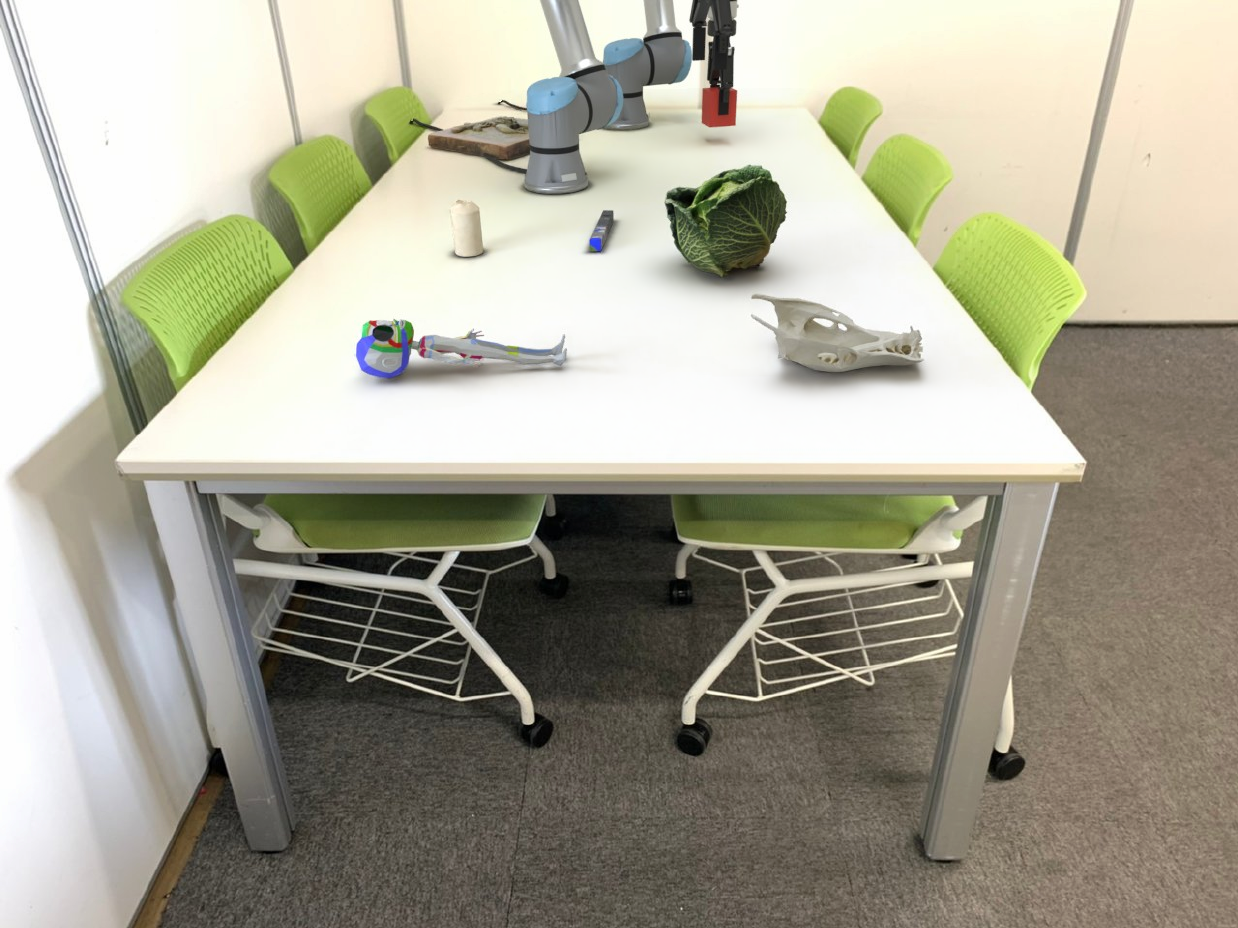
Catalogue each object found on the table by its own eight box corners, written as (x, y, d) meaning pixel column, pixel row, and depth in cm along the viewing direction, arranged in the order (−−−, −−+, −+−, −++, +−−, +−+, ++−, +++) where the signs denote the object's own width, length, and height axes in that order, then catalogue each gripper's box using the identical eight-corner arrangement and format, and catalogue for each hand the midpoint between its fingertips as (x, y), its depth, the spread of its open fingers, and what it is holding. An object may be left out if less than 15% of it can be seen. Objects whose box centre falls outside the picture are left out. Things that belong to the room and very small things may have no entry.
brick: (709, 127, 244) (710, 92, 239) (701, 123, 249) (702, 88, 245) (735, 125, 246) (737, 90, 241) (727, 121, 251) (728, 86, 246)
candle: (488, 249, 176) (483, 198, 171) (475, 258, 172) (470, 206, 167) (463, 246, 178) (457, 196, 173) (450, 255, 174) (443, 204, 168)
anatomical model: (752, 284, 135) (923, 286, 131) (750, 340, 140) (914, 344, 136) (749, 325, 123) (938, 328, 119) (747, 384, 127) (928, 390, 124)
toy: (569, 347, 126) (349, 329, 122) (563, 400, 131) (350, 385, 126) (565, 318, 135) (359, 301, 130) (559, 369, 139) (360, 354, 134)
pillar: (613, 210, 190) (600, 241, 173) (613, 220, 191) (600, 251, 174) (603, 210, 190) (589, 240, 173) (603, 220, 191) (589, 251, 174)
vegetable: (694, 294, 173) (643, 202, 166) (775, 239, 175) (728, 145, 167) (734, 307, 155) (678, 205, 147) (824, 245, 156) (773, 141, 149)
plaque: (505, 133, 232) (424, 120, 247) (507, 161, 236) (427, 146, 250) (578, 114, 253) (499, 103, 268) (578, 140, 256) (500, 128, 271)
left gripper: (753, -47, 171) (746, 73, 182) (709, -53, 191) (706, 55, 203) (716, -46, 169) (711, 75, 181) (676, -52, 190) (674, 57, 201)
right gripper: (749, 22, 226) (744, 118, 238) (722, 15, 243) (719, 105, 255) (721, 23, 225) (717, 120, 237) (696, 16, 241) (694, 107, 253)
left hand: (708, 65), depth 192 cm, fingers open, 13 cm apart
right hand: (718, 112), depth 246 cm, fingers closed on brick, 7 cm apart
